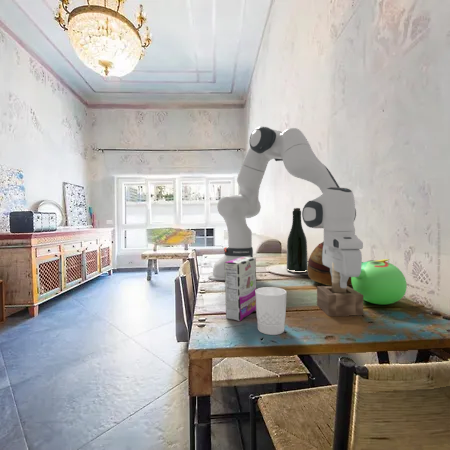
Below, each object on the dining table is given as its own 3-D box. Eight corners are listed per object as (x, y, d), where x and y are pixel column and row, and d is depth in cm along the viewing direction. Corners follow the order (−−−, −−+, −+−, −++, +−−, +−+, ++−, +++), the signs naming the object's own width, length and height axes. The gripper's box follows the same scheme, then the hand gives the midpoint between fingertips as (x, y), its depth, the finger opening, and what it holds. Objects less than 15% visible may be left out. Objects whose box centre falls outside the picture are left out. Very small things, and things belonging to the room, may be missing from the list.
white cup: (267, 339, 64) (267, 297, 64) (249, 327, 71) (249, 289, 71) (293, 332, 68) (293, 292, 67) (273, 321, 75) (273, 285, 74)
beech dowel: (335, 303, 81) (335, 264, 81) (330, 299, 85) (330, 261, 85) (348, 303, 81) (348, 263, 81) (342, 299, 85) (342, 261, 85)
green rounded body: (414, 314, 79) (415, 264, 78) (350, 308, 84) (351, 261, 84) (396, 296, 96) (397, 255, 95) (344, 292, 101) (345, 253, 101)
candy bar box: (243, 307, 87) (242, 256, 86) (257, 310, 84) (256, 257, 83) (224, 318, 77) (223, 261, 77) (239, 322, 74) (239, 262, 74)
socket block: (328, 316, 78) (328, 295, 78) (317, 304, 88) (317, 286, 88) (363, 315, 78) (363, 295, 78) (347, 304, 88) (347, 286, 88)
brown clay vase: (310, 289, 107) (310, 213, 106) (304, 277, 127) (304, 213, 126) (364, 291, 103) (364, 212, 102) (349, 279, 123) (349, 213, 122)
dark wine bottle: (296, 268, 148) (296, 208, 147) (311, 271, 140) (311, 207, 138) (282, 270, 143) (282, 208, 142) (297, 274, 134) (297, 207, 133)
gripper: (317, 237, 93) (317, 277, 93) (342, 243, 72) (342, 294, 73) (335, 237, 93) (335, 277, 93) (366, 243, 72) (366, 294, 73)
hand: (339, 285), depth 83 cm, fingers closed on beech dowel, 4 cm apart
